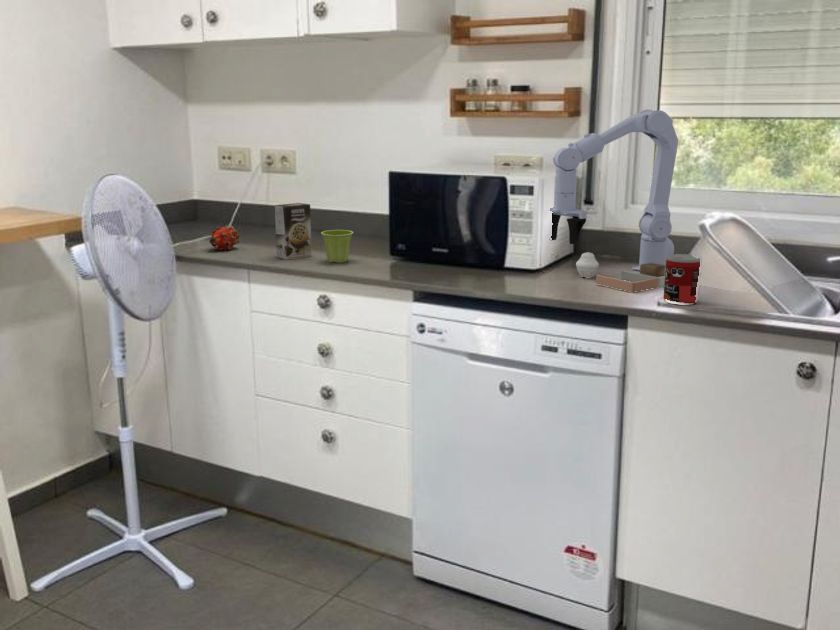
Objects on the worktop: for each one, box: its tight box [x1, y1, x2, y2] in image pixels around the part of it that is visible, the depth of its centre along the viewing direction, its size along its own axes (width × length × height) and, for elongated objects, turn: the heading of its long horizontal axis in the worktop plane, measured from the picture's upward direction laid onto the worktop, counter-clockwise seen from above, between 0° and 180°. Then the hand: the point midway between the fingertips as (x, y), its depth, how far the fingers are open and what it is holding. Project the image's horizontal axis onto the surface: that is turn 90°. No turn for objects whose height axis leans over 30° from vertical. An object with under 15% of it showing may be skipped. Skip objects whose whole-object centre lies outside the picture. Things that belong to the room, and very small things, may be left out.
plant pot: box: [320, 229, 354, 264], centre depth 253 cm, size 9×9×9 cm
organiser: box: [595, 270, 665, 293], centre depth 223 cm, size 20×12×2 cm, turn 127°
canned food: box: [663, 253, 700, 303], centre depth 202 cm, size 8×8×11 cm
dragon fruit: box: [209, 224, 240, 252], centre depth 271 cm, size 8×8×12 cm
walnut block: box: [639, 263, 665, 277], centre depth 225 cm, size 4×4×4 cm
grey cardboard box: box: [274, 202, 313, 261], centre depth 258 cm, size 9×6×16 cm
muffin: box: [575, 251, 600, 278], centre depth 230 cm, size 6×6×7 cm
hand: (562, 241), depth 235 cm, fingers open, 7 cm apart
